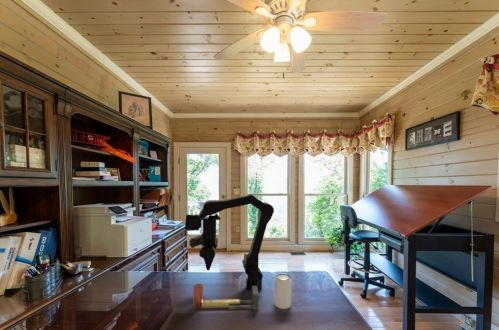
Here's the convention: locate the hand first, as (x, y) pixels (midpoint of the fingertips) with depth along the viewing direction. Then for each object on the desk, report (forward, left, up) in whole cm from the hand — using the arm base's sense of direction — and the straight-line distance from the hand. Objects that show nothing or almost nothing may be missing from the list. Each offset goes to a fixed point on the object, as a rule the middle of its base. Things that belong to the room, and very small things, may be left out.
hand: (209, 265), depth 108 cm
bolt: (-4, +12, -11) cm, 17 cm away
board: (-9, +13, -12) cm, 20 cm away
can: (-30, +12, -12) cm, 35 cm away
